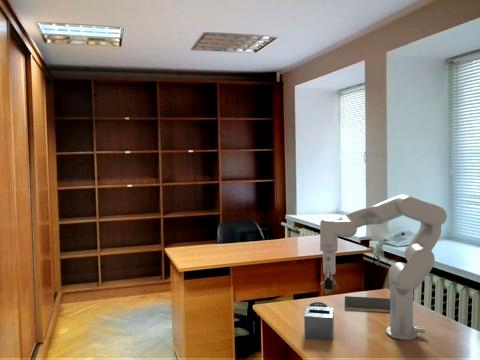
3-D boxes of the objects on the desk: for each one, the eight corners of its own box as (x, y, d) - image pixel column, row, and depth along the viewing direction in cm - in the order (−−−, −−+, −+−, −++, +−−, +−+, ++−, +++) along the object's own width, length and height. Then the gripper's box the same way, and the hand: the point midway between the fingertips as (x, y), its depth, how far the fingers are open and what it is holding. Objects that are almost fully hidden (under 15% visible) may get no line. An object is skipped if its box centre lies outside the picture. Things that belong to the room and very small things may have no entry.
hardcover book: (392, 313, 211) (392, 309, 211) (344, 310, 217) (344, 306, 217) (389, 302, 227) (389, 298, 227) (344, 299, 232) (344, 295, 232)
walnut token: (338, 287, 188) (332, 277, 189) (338, 288, 186) (332, 278, 187) (326, 292, 190) (320, 282, 190) (325, 294, 188) (320, 284, 188)
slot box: (333, 329, 194) (333, 307, 194) (332, 340, 183) (332, 318, 182) (307, 326, 197) (307, 305, 197) (304, 338, 186) (304, 316, 185)
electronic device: (326, 320, 208) (328, 305, 222) (325, 310, 207) (326, 295, 221) (307, 322, 210) (310, 306, 225) (306, 311, 210) (308, 297, 224)
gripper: (337, 251, 178) (336, 294, 180) (338, 243, 194) (337, 283, 195) (318, 251, 180) (318, 293, 182) (321, 242, 196) (321, 282, 197)
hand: (328, 287), depth 188 cm, fingers closed on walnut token, 1 cm apart
